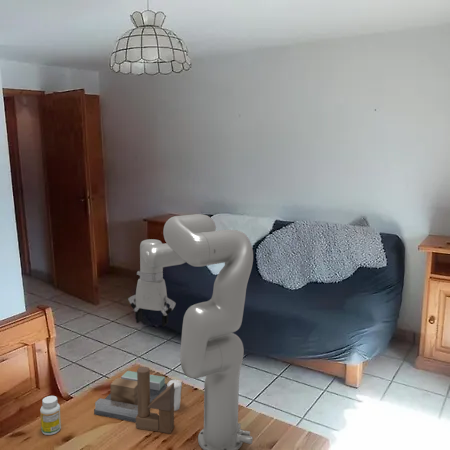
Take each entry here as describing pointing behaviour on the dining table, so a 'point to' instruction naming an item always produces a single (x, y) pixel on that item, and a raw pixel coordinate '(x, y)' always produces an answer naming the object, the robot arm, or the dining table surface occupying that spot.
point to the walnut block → (124, 391)
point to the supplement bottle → (50, 415)
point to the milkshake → (176, 392)
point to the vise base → (152, 396)
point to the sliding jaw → (155, 381)
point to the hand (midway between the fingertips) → (151, 323)
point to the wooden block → (154, 405)
